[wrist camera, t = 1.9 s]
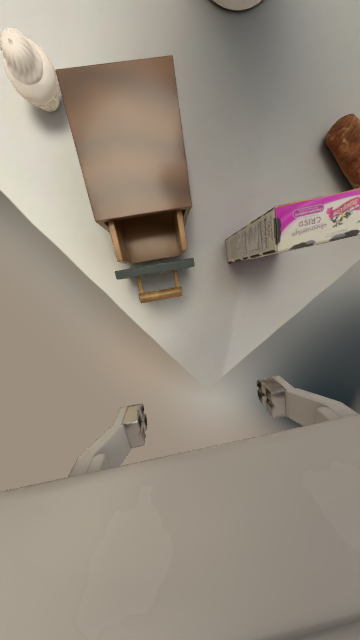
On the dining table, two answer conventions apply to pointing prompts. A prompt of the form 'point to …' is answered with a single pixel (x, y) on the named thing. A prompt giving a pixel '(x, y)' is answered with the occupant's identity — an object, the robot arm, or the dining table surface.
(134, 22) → the dining table surface
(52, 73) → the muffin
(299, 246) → the candy bar box
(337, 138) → the bread
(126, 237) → the drawer
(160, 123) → the cabinet
